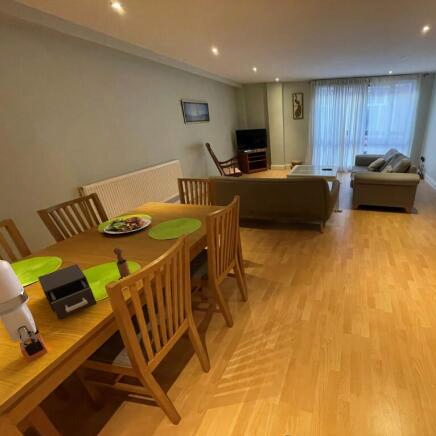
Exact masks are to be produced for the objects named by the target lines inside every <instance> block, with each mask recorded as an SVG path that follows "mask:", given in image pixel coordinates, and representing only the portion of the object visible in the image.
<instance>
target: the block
mask: <svg viewBox="0 0 436 436" xmlns="http://www.w3.org/2000/svg"><path fill="white" fill-rule="evenodd" d="M35 336H36V338H37V339H39V341H40V342H41V344H42V346H43V347H44V349H43V350H42V351H40V352H38V353H36V354H34V355H32V356H29V355H28V353H27V352H26V350H25V349H24V347H23V343H22V341H21V342H19V347H20V352H21V353H22V355H23V357H24V359H25V360H26V363H29V362H31V361H33V360H34V359H36V358H38V357H40V356H42V355H44V354H46V353H48V348H47V344H46V342H45V341H44V339H43V337H42V335H41V334H40V333H38V334H36V335H35ZM31 338H33V337H31Z"/></svg>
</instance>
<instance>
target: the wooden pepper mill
mask: <svg viewBox="0 0 436 436" xmlns="http://www.w3.org/2000/svg"><path fill="white" fill-rule="evenodd" d="M113 253H114V254H115V255H116V256H117V257H116V259H117V261H116V263H115V264H116V267H117V269H118V273H119V277H118V279H117V281H118V280H120V279H122V278H123V277H126V276H128V275H130V274H132V273H131V270H130V267H129V263H128V260H127V259H125V258H124V255H122V253H123V249H122V247H120V246H117V247H115V248H114V249H113Z"/></svg>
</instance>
